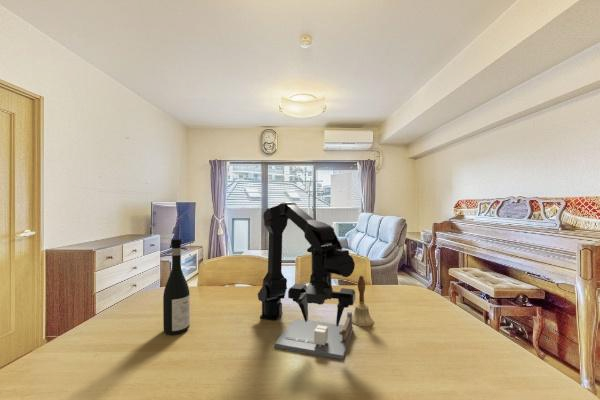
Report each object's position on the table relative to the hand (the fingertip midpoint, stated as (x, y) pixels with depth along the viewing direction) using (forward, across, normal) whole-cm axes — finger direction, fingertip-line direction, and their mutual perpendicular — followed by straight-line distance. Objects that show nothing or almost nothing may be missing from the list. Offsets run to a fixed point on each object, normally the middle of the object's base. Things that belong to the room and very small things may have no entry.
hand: (321, 323), depth 82 cm
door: (+6, +5, +8) cm, 12 cm away
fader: (+6, 0, 0) cm, 6 cm away
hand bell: (+7, +9, +22) cm, 25 cm away
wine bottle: (+7, -48, -4) cm, 49 cm away
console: (+7, -3, +5) cm, 9 cm away
